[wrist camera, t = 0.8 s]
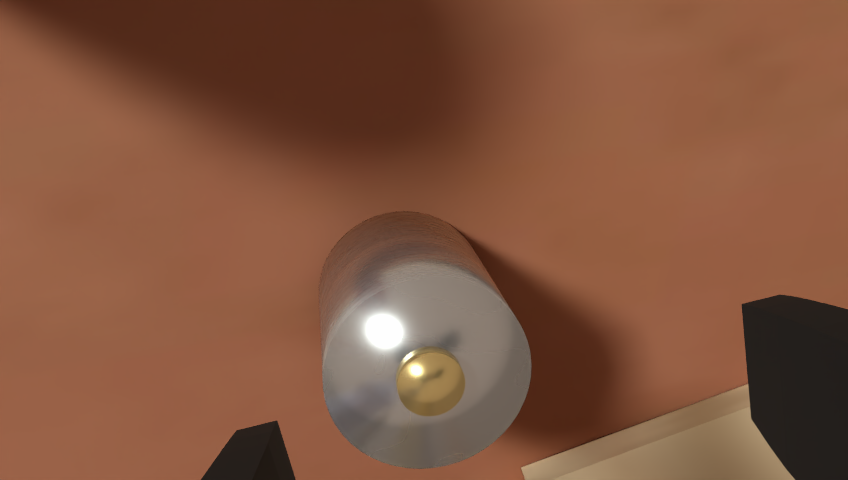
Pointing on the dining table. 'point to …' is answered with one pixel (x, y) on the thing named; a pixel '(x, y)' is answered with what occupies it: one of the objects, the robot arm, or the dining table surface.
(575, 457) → the press frame
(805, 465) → the robot arm
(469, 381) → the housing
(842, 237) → the dining table surface
